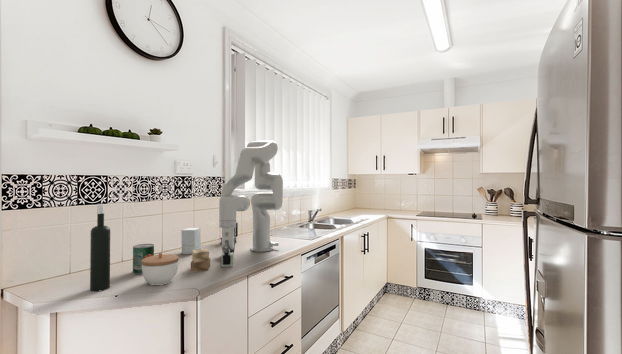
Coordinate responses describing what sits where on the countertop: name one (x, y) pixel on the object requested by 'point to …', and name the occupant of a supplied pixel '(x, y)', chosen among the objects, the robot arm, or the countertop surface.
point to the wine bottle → (100, 253)
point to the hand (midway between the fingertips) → (227, 261)
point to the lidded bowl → (159, 268)
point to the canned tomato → (141, 256)
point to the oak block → (200, 255)
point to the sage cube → (230, 260)
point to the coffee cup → (234, 244)
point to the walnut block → (200, 265)
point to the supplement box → (190, 240)
